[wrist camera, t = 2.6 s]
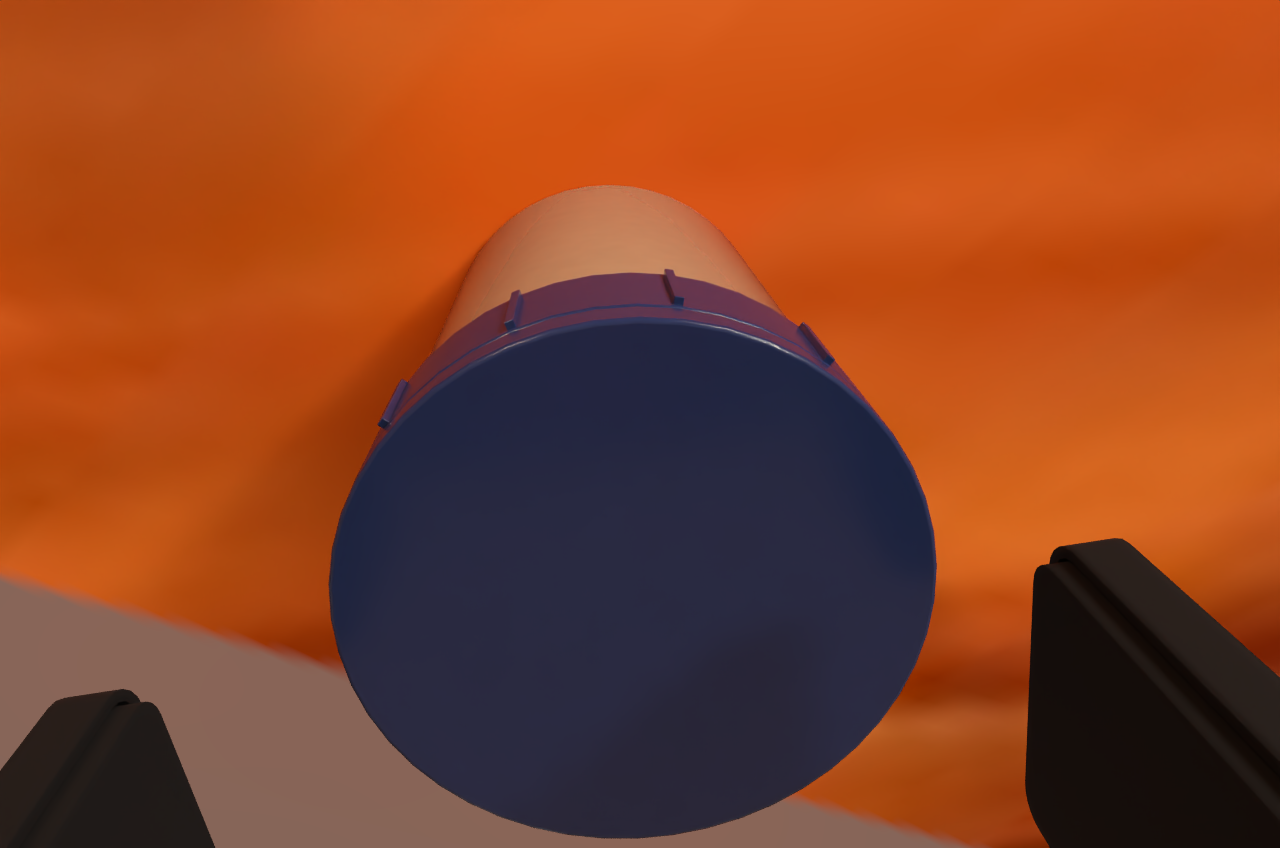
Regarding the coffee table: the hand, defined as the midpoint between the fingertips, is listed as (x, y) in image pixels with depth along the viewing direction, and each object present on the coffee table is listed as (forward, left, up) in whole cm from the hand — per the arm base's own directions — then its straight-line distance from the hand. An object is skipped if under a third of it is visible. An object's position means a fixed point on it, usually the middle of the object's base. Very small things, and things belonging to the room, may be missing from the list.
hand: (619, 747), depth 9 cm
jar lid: (0, 0, -3) cm, 3 cm away
